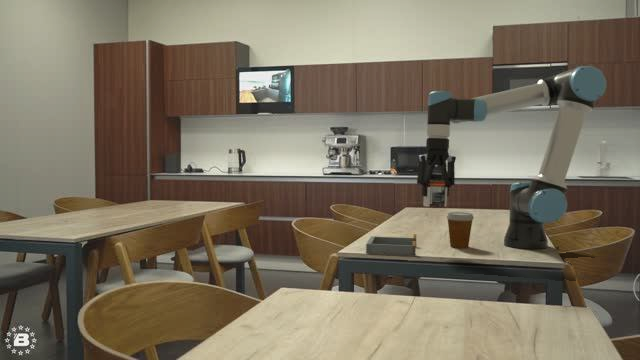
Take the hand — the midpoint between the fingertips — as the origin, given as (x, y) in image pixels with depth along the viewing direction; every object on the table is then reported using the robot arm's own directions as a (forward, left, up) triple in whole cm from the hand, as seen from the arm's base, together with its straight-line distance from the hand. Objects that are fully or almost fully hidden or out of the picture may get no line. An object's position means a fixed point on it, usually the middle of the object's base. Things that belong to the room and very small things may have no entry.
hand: (434, 206), depth 198 cm
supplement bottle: (0, 0, 0) cm, 0 cm away
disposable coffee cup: (-9, -13, -16) cm, 22 cm away
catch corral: (+14, -1, -16) cm, 21 cm away
